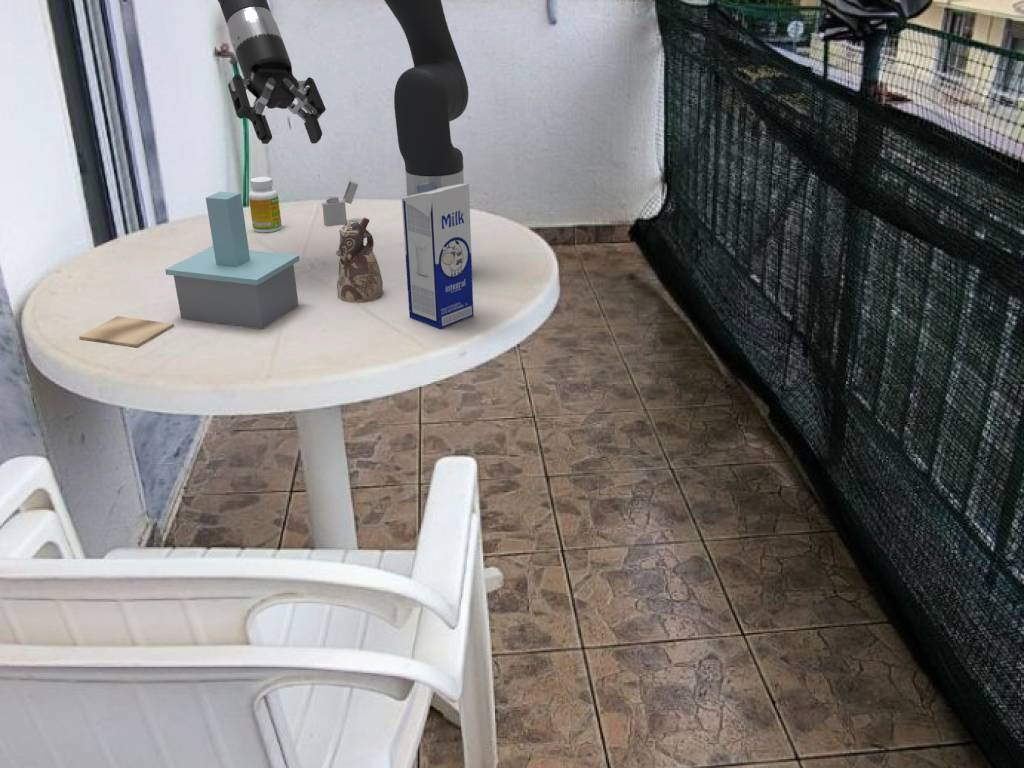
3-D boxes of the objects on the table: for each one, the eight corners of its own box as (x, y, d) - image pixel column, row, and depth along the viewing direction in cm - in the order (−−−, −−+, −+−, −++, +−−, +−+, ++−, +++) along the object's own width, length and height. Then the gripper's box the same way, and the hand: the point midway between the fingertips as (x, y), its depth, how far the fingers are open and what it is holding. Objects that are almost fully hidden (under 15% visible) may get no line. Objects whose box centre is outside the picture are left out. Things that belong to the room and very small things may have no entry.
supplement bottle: (278, 233, 179) (271, 182, 175) (250, 233, 179) (242, 182, 175) (284, 225, 184) (278, 175, 179) (257, 225, 184) (250, 175, 180)
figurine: (329, 293, 149) (321, 219, 144) (368, 283, 153) (362, 211, 147) (351, 306, 144) (344, 229, 138) (391, 295, 148) (386, 221, 142)
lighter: (326, 226, 182) (322, 185, 179) (324, 224, 184) (319, 183, 180) (361, 221, 185) (358, 181, 182) (359, 219, 187) (355, 179, 183)
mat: (174, 326, 137) (173, 323, 137) (137, 347, 131) (137, 344, 130) (118, 318, 140) (117, 316, 140) (79, 338, 134) (79, 336, 133)
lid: (299, 260, 142) (291, 189, 137) (257, 285, 132) (247, 209, 127) (212, 251, 146) (202, 182, 142) (166, 274, 137) (152, 201, 132)
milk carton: (439, 329, 135) (432, 191, 126) (408, 318, 139) (399, 183, 130) (474, 315, 139) (470, 181, 131) (443, 305, 144) (437, 174, 135)
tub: (298, 304, 144) (293, 261, 141) (262, 328, 136) (255, 283, 133) (220, 295, 149) (214, 253, 146) (181, 318, 140) (173, 273, 137)
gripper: (225, 28, 137) (261, 128, 135) (309, 35, 147) (343, 128, 145) (206, 57, 142) (240, 154, 141) (288, 62, 152) (321, 152, 150)
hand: (292, 141), depth 143 cm, fingers open, 8 cm apart
